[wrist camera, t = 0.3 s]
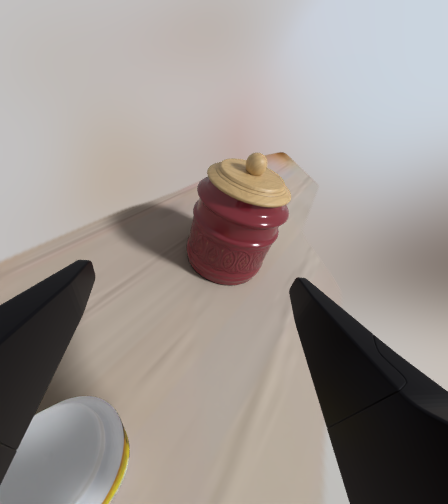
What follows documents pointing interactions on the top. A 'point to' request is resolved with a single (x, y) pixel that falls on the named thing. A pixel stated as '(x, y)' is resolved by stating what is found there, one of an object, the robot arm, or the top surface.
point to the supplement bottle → (69, 456)
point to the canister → (236, 219)
